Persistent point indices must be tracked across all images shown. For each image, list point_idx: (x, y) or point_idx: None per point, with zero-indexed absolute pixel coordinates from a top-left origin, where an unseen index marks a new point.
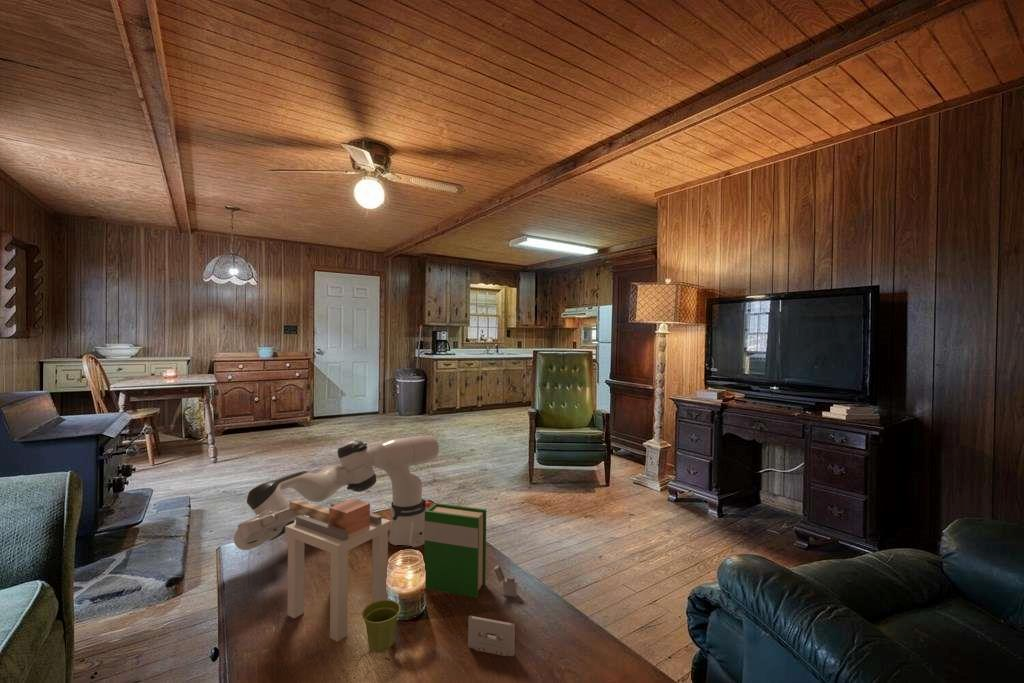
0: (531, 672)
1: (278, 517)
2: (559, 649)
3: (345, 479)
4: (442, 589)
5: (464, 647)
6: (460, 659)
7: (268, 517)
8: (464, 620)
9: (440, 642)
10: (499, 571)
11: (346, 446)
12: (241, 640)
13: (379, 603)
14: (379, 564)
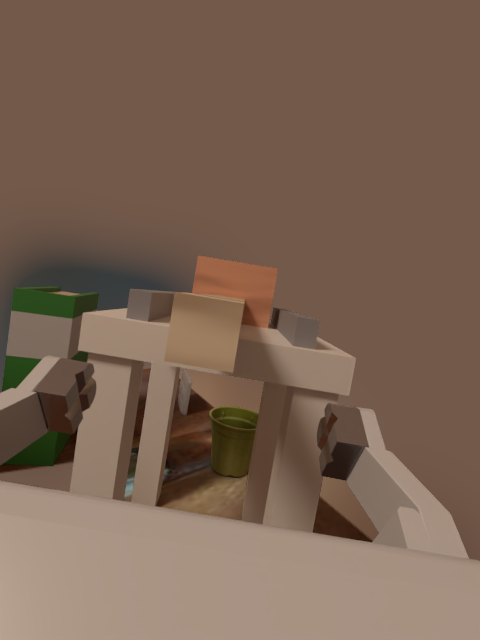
0: (194, 392)
1: (319, 424)
2: None
3: None
4: (65, 441)
5: (188, 417)
6: (206, 417)
7: (395, 460)
8: (140, 421)
9: (191, 430)
10: None
11: None
12: None
13: (220, 425)
14: (175, 395)
